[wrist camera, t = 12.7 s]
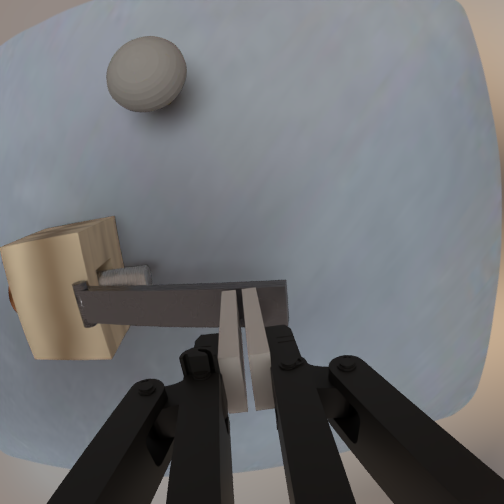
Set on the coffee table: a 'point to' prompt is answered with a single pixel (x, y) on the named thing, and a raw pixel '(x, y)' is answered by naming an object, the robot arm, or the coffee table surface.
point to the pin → (118, 278)
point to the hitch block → (63, 288)
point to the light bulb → (146, 74)
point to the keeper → (175, 303)
